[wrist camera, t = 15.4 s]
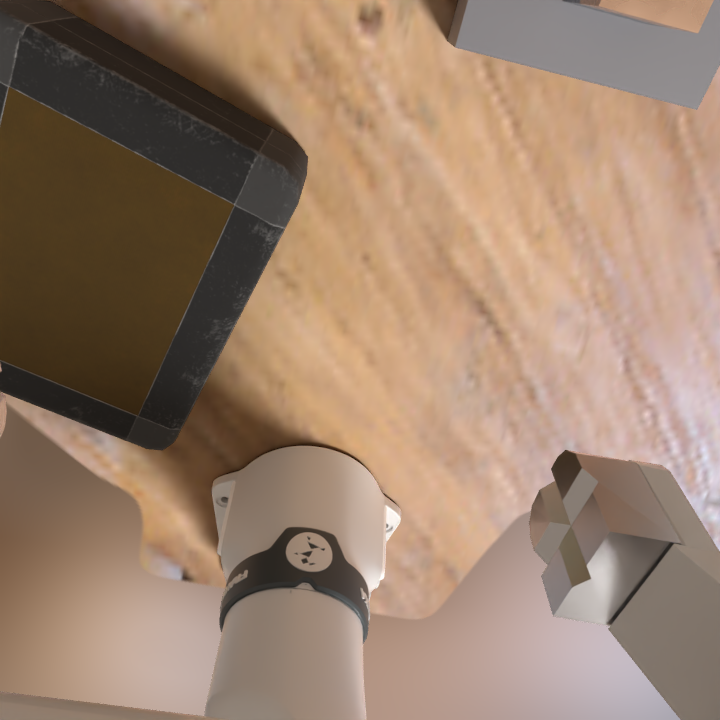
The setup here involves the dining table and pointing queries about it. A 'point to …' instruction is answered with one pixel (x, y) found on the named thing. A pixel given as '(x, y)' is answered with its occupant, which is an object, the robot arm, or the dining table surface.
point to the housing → (655, 11)
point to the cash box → (124, 224)
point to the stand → (594, 46)
